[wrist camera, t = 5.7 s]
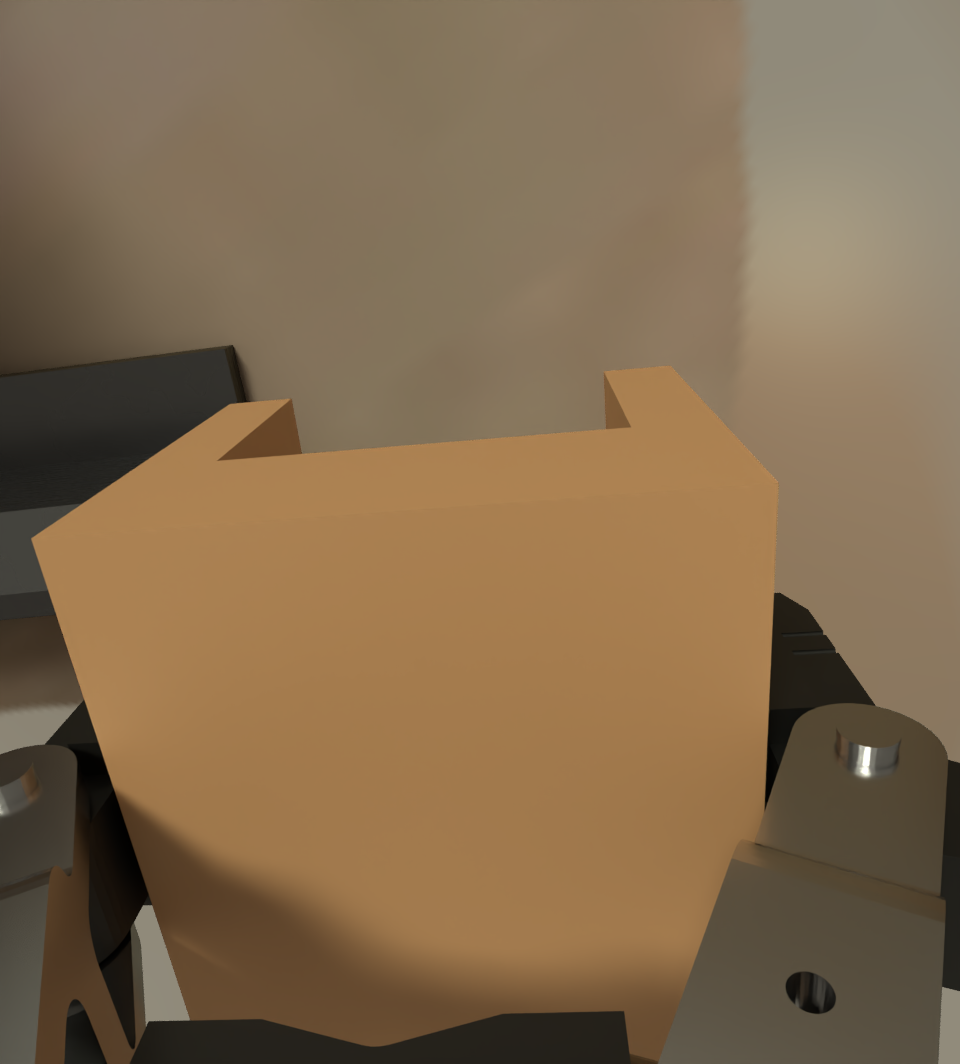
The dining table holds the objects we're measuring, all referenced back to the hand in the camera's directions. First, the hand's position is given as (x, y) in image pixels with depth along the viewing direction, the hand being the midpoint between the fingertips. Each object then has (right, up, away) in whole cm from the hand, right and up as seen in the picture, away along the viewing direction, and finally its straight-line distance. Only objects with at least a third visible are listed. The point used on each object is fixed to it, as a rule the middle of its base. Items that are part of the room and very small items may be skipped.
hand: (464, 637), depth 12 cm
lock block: (0, 0, +1) cm, 1 cm away
